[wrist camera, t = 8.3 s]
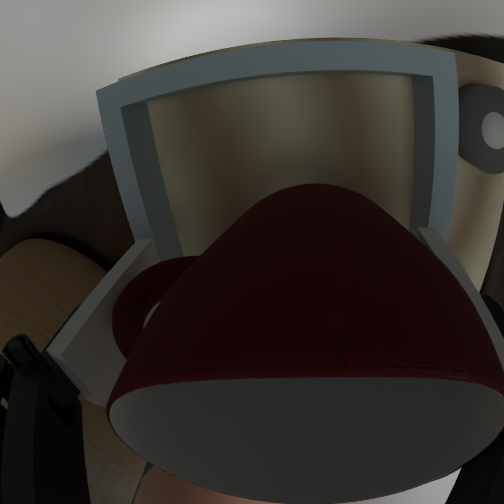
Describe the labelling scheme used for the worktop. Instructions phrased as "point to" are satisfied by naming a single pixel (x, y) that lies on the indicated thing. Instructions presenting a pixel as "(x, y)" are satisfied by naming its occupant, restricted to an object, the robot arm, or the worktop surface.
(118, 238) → the worktop surface
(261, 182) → the board
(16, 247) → the planter
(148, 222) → the bay
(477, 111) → the wheel
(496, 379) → the mug
